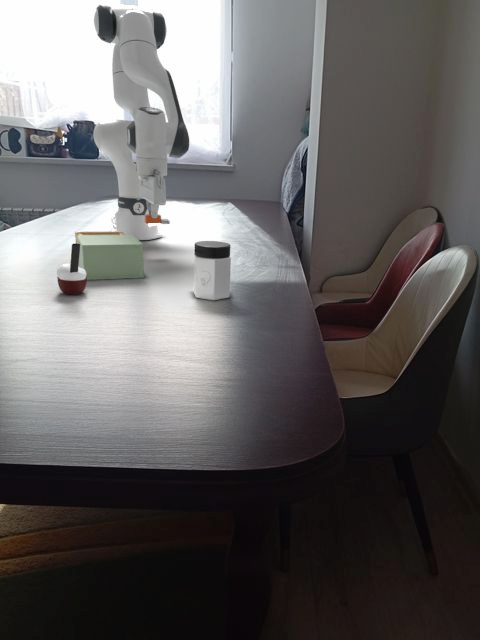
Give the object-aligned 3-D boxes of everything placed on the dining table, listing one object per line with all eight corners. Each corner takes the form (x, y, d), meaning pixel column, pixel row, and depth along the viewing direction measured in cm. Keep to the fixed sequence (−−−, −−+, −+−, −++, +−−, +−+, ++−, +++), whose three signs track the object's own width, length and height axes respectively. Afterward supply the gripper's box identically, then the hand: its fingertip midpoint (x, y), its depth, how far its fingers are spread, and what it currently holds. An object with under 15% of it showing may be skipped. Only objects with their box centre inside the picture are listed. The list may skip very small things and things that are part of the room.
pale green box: (78, 267, 139) (76, 235, 136) (133, 265, 145) (132, 234, 142) (84, 280, 127) (82, 245, 123) (144, 277, 132) (143, 244, 129)
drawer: (75, 252, 152) (73, 229, 150) (121, 251, 158) (120, 228, 155) (81, 265, 137) (79, 239, 135) (132, 263, 143) (131, 239, 140)
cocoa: (61, 287, 119) (56, 235, 115) (89, 287, 120) (86, 236, 116) (54, 299, 110) (49, 243, 106) (85, 299, 112) (81, 243, 107)
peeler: (146, 223, 153) (146, 215, 152) (144, 222, 156) (144, 214, 155) (169, 223, 156) (169, 215, 155) (167, 222, 159) (167, 214, 158)
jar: (186, 296, 118) (186, 244, 113) (201, 288, 125) (201, 239, 121) (222, 302, 116) (224, 248, 111) (235, 293, 123) (237, 243, 118)
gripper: (171, 171, 142) (171, 222, 147) (154, 166, 159) (155, 212, 165) (148, 171, 140) (149, 222, 145) (134, 165, 157) (135, 211, 162)
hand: (152, 216), depth 155 cm, fingers closed on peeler, 2 cm apart
